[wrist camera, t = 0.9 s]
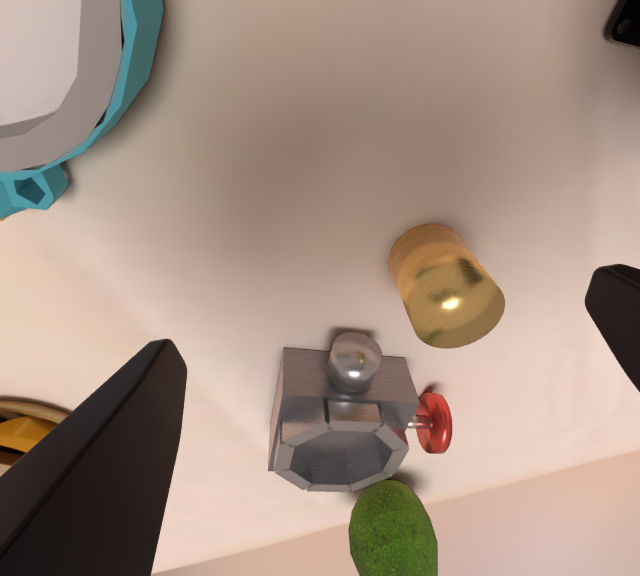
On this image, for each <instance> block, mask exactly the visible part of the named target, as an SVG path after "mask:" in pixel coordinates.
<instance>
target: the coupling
mask: <svg viewBox="0 0 640 576" xmlns="http://www.w3.org/2000/svg"><path fill="white" fill-rule="evenodd" d="M388 265H389V269H390V272H391V274H392V277H393V279H394V282H395V284H396V287H397V289H398V292H399V294H400V296H401V299H402V301H403V304H404V306H405V309H406V311H407V314H408V316H409V318H410V321H411V323H412V326H413V328H414V331H415V333H416V335H417V336H418V337H419V339H420V340H422V341H423V342H424V343H426V344H428V345H430V346H433V347H437V348H456V347H461V346H465V345H468V344H470V343H473V342H475V341H477V340H479V339H481V338H482V337H484V336H485V335H486V334H488V333H489V332H490V331H491V330H492V329H493V328H494V327H495V326H496V325H497V323H498V322H499V320H500V319H501V317H502V315H503V312H504V308H505V299H504V295H503V293H502V291H501V290H500V288H499V287H498V286H497V285H496V283H495V282H494V281H493V280H492V278H491V277H490V276H489V275H488V273H487V272H486V271H485V270H484V268H483V267H482V266H481V265H480V263H479V262H478V261H477V260H476V258H475V257H474V256H473V255H472V253H471V252H470V251H469V250H468V248H467V247H466V246H465V245H464V244H463V242H462V241H461V240H460V239H459V237H458V236H457V235H456V234H455V233H454V231H452V230H451V229H450V228H448V227H446V226H443V225H439V224H425V225H420V226H417V227H415V228H412V229H410V230H409V231H407V232H406V233H404V234H403V235H402V236H401V237H400V238H399V239H398V240H397V241H396V242H395V244H394V245H393V247H392V249H391V251H390V254H389V259H388Z"/></svg>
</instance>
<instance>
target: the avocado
mask: <svg viewBox="0 0 640 576" xmlns="http://www.w3.org/2000/svg"><path fill="white" fill-rule="evenodd" d="M349 541H350V553H351V556H352V558H353V561H354V563H355V566H356V568H357V570H358V573H359V575H360V576H438V568H437V567H438V561H437V560H438V555H437V554H438V553H437V552H438V547H437V539H436V536H435V533H434V530H433V527H432V523H431V520H430V517H429V516H428V514H427V512H426V510H425V508H424V506H423V504H422V502H421V501H420V499H419V498H418V496H417V495H416V494H415V493H414V491H413V490H412V489H410V488H409V487H408V486H407V485H405V484H403V483H401V482H398V481H396V480H381V481H379V482H376V483H374V484H372V485H370V486H369V487H368V488H367V489H366V490H365V491H364V492H363V493H362V494H361V495H360V497H359V498H358V500H357V502H356V504H355V506H354V508H353V510H352V514H351V519H350V524H349Z"/></svg>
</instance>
